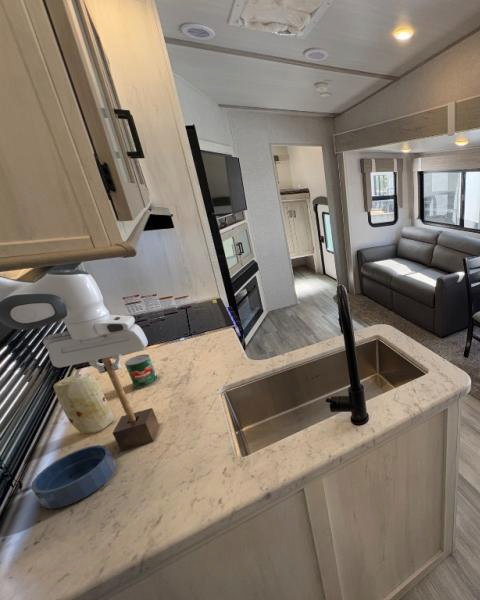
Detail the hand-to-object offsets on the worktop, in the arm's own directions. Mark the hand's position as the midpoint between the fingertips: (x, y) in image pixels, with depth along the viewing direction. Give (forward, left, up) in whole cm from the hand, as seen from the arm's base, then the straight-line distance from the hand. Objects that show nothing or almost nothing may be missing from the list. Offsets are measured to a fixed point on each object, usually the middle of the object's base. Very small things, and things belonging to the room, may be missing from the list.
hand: (110, 370), depth 89 cm
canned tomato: (-7, +38, -25) cm, 46 cm away
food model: (-15, +13, -25) cm, 32 cm away
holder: (0, 0, -25) cm, 25 cm away
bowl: (-10, -13, -25) cm, 30 cm away
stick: (0, 0, -18) cm, 18 cm away
